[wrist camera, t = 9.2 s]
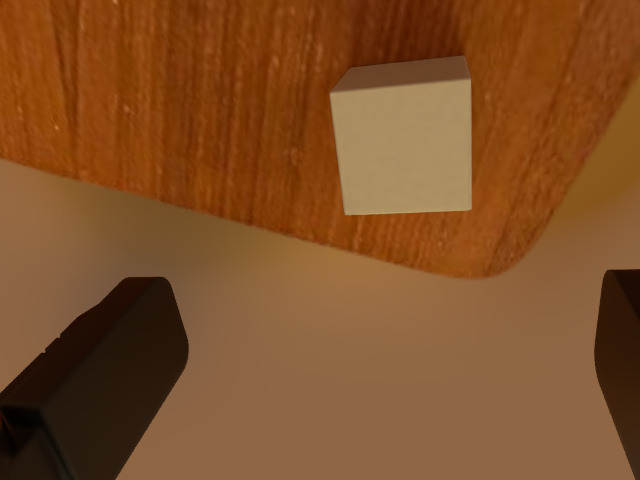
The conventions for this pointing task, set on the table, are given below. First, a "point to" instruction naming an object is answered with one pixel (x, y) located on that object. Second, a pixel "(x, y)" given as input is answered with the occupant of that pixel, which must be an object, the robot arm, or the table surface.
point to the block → (404, 136)
